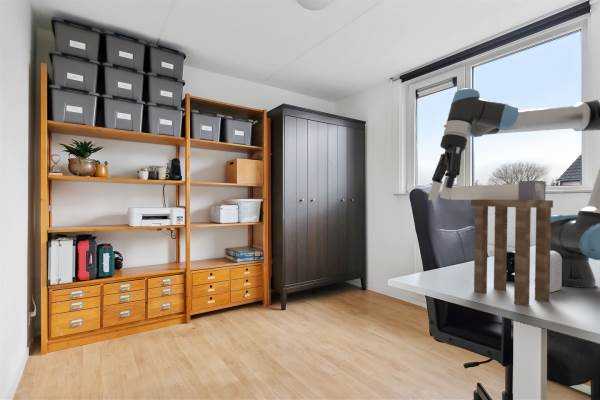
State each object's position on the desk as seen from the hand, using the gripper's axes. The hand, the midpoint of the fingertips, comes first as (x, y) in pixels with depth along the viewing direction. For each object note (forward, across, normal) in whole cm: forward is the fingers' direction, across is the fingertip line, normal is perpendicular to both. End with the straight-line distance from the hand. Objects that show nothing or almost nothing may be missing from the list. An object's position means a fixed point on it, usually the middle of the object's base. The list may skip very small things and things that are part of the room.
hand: (438, 199), depth 102 cm
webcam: (+20, -13, +34) cm, 41 cm away
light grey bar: (-4, +3, +14) cm, 15 cm away
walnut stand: (+23, +7, +24) cm, 34 cm away
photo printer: (+19, -2, +40) cm, 44 cm away
